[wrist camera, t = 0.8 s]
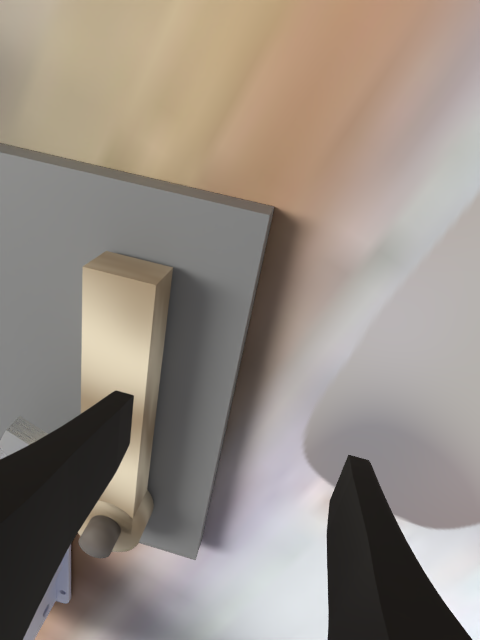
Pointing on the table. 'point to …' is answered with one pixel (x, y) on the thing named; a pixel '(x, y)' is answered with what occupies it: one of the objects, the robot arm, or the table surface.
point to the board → (182, 320)
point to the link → (123, 384)
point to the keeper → (19, 436)
